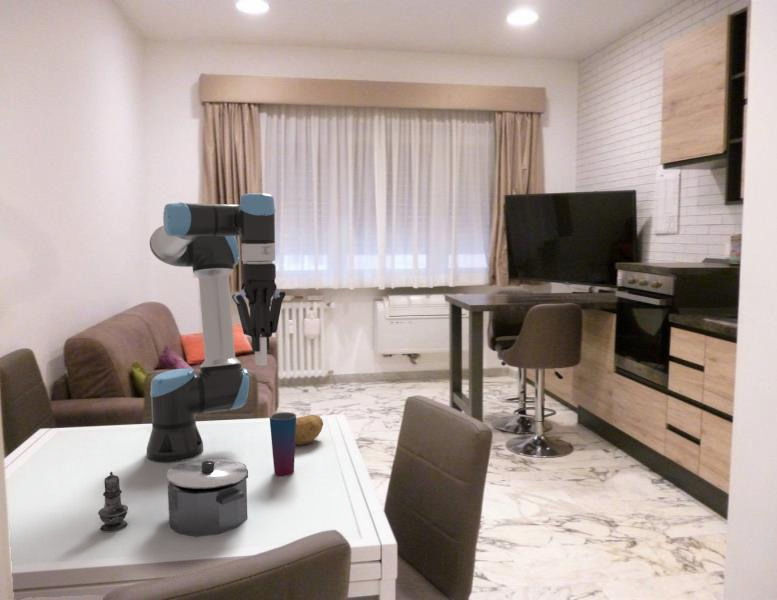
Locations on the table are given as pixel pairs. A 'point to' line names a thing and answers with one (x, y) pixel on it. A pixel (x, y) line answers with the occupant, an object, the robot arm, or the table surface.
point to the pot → (207, 508)
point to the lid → (207, 473)
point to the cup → (283, 442)
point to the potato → (307, 428)
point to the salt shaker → (113, 506)
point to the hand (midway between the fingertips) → (261, 364)
